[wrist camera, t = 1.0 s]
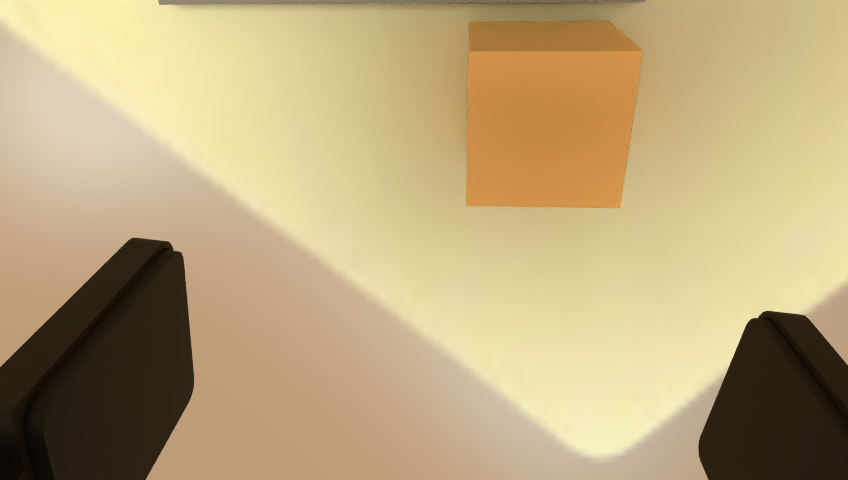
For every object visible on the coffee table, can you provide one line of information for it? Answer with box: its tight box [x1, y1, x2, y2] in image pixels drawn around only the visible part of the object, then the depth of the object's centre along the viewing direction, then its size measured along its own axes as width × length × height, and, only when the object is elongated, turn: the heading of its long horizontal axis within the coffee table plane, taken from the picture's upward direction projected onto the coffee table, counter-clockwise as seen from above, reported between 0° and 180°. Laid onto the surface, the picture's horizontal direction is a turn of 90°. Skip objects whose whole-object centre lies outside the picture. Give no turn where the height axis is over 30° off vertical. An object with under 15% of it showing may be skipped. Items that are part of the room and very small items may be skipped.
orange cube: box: [466, 22, 643, 208], centre depth 26 cm, size 6×6×6 cm
